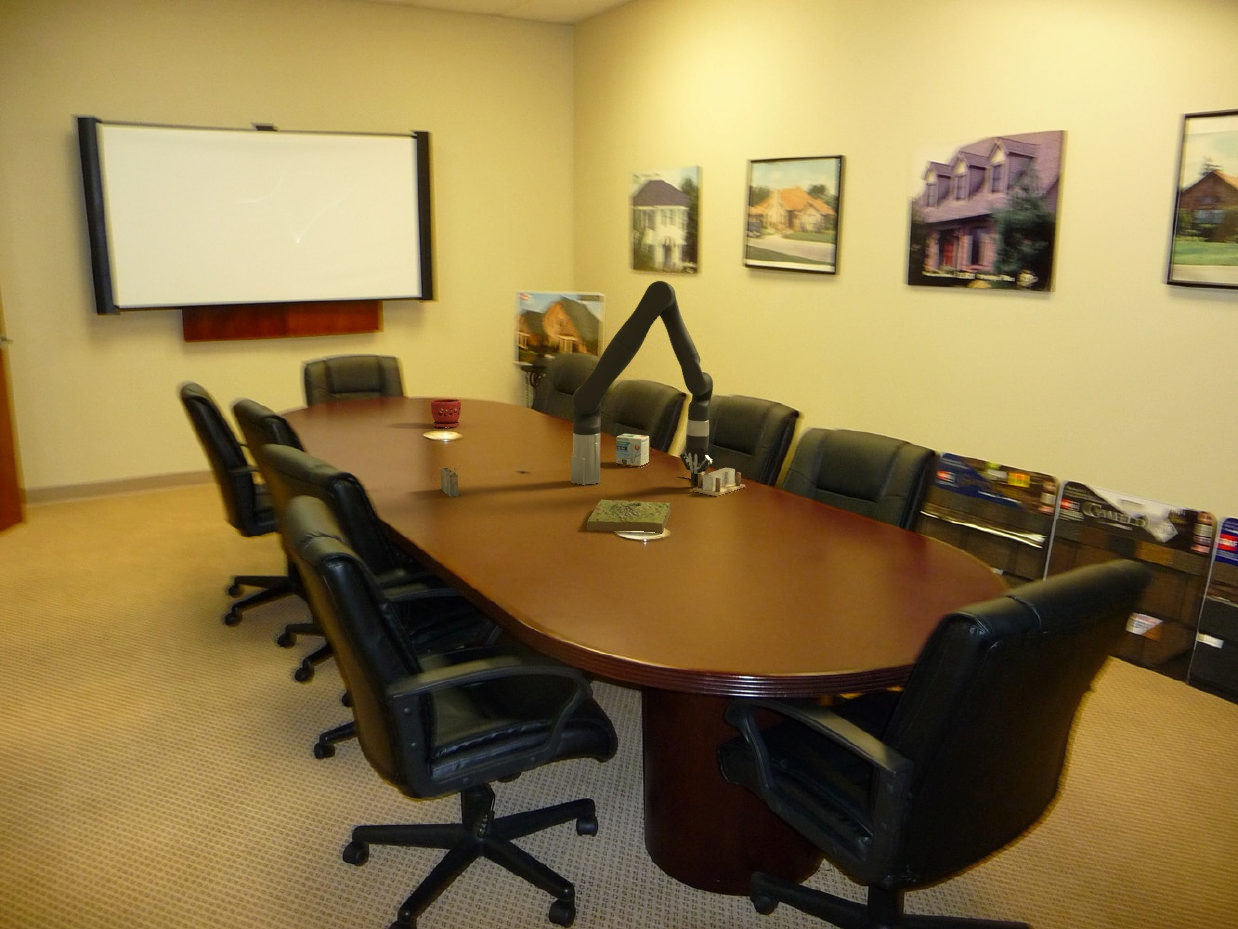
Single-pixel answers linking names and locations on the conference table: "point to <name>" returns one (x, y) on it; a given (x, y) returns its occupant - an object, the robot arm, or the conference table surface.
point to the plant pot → (446, 412)
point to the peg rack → (717, 486)
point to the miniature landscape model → (629, 516)
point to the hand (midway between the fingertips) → (695, 483)
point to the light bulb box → (632, 449)
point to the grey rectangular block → (725, 475)
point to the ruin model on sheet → (449, 481)
